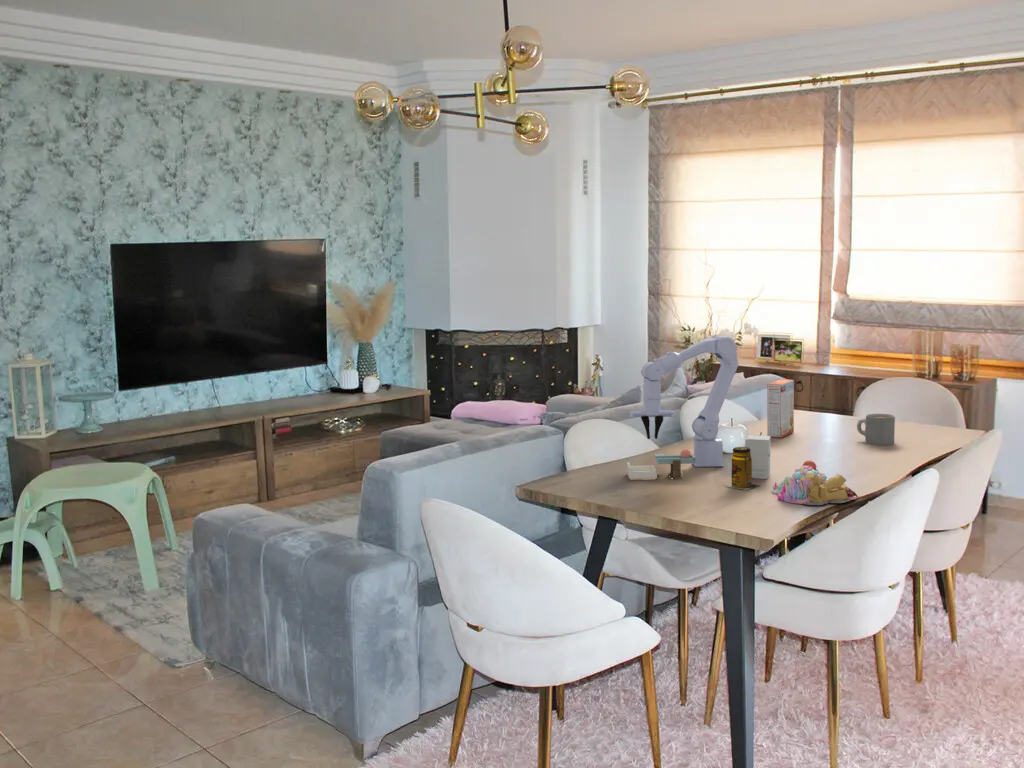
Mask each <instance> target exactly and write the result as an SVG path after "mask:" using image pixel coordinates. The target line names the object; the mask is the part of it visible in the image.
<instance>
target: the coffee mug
mask: <svg viewBox="0 0 1024 768" xmlns="http://www.w3.org/2000/svg"><path fill="white" fill-rule="evenodd" d="M863 423H864V425H865V426H864V427H865V428H864V430H863V429H862V424H863ZM895 427H896V416H895V415H894V414H889V413H869V414H866V415H865V418H860V419H859V420H858V421H857V424H856V429H857V432H858V433H859V434H860V435H862V436H864V439H865V440H864V441H865V442H864V443H866V444H869V445H872V446H873V445H875V446H892V445H894V444H895V431H896V430H895Z"/></svg>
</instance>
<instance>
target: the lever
mask: <svg viewBox="0 0 1024 768" xmlns="http://www.w3.org/2000/svg"><path fill="white" fill-rule="evenodd" d="M653 456H654V458H655V462H656V463H657V465H671V464H673V460H681V465H691V464H692V465H693V464H696V457H695V456H694V453H693V454H692V453H691V455H690V457H689V458H682V457H681V454H676V455H675V454H668V455H667V454H666V453H653Z"/></svg>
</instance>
